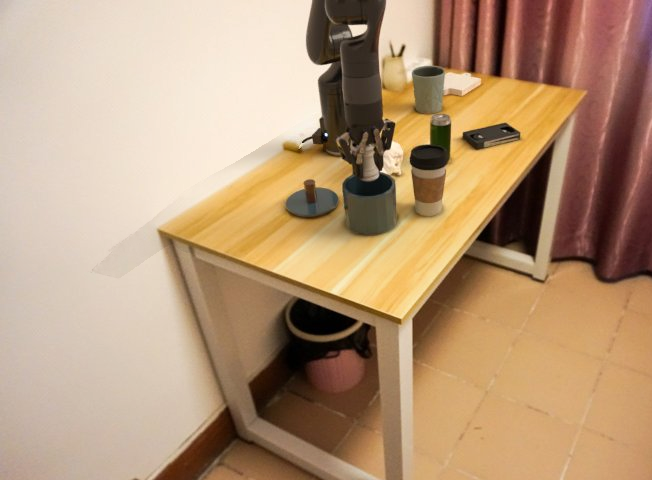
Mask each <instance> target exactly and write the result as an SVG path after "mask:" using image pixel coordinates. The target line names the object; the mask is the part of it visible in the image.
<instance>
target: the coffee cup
mask: <svg viewBox="0 0 652 480" xmlns="http://www.w3.org/2000/svg"><path fill="white" fill-rule="evenodd" d="M448 163H449V162H448V156H447V150H446V148H445V147H443V146H439V145H431V144H430V143H429V144H428V143H427V144H426V143H425V144H420V145H417V146H414V147H413V148H412V149H411V150H410V156H409V164H410V166H411V168H410V169H411V170H410V171H411V172H410V173H411V181H412V189H413V196H414V207H415V212H416V213H417V214H419V215H421V216H424V217H434V216H437V215H439V214H440V213H441V211H442V207H443V198H444V191H445V184H446V175H447V168H446V167H447V165H448Z"/></svg>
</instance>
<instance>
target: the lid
mask: <svg viewBox="0 0 652 480" xmlns="http://www.w3.org/2000/svg"><path fill="white" fill-rule="evenodd" d="M338 204H339V195H338V194H337V192H335V191H334V190H331V189H329V188H327V187H326V188H325V187H318V186H316V181H315V180H314V179H312V178H311V179H306V180H304V182H303V188H302V189H299V190H296V191H295V192H293V193H292V194H290V195H289V196H288V197H287V198H286V201H285V208H286V210H287V211H288V212H289V213H290V214H292V215H294V216H298V217H303V218H304V217H305V218H312V217H318V216H319V217H320V216H323V215H325V214H328V213H330V212H331V211H333V210H334V209H336V208H337V206H338Z"/></svg>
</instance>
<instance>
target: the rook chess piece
mask: <svg viewBox="0 0 652 480" xmlns="http://www.w3.org/2000/svg"><path fill="white" fill-rule="evenodd" d="M374 147H375V146H374V145H373V144H368V145H366V146H365V152H364V153H363V154H362V160H361V163H362V166H363V178H362V179H361V180H363V181H367V182H370V181H374V180H376V179H377V178H378V177H379V173H378V172H379V170H378V168H377V167H376V165H375V163H374V158H373V155H374V151H373V149H374Z"/></svg>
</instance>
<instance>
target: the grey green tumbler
mask: <svg viewBox="0 0 652 480" xmlns="http://www.w3.org/2000/svg"><path fill="white" fill-rule="evenodd" d="M445 74H446V70H445V69H444V67H441V66H438V65H421V66H417V67H414V68H413V69H412V71H411V78H412V79H411V80H412V87H413V98H414V108H415V111H416V112H418V113H420V114H425V115H432V114H433V115H435V114H438V113H440V112H441V111H442V110H443V102H444V95H443V88H444V79H445Z"/></svg>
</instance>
